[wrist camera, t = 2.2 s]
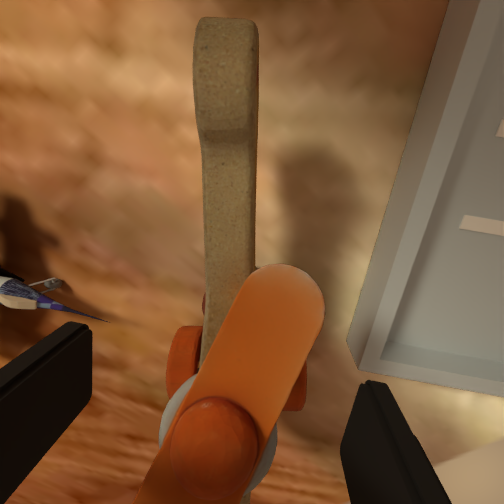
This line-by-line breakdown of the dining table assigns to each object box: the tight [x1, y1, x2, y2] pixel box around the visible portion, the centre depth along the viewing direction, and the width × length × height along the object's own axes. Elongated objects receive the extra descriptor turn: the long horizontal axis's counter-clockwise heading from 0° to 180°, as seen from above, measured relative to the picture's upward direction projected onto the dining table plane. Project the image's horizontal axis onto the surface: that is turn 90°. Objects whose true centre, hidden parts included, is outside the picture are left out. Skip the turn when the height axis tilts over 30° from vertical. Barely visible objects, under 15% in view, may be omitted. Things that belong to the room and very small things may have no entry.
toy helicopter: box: [132, 17, 325, 504], centre depth 12 cm, size 8×21×14 cm, turn 179°
